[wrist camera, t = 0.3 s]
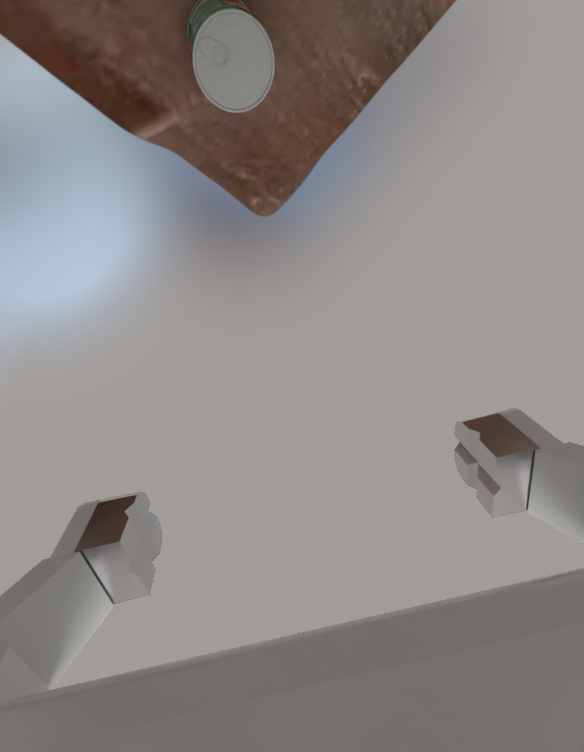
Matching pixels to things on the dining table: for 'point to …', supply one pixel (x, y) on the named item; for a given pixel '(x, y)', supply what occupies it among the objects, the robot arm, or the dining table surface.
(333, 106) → the dining table surface
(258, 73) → the canned tomato
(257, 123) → the dining table surface
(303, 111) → the dining table surface
